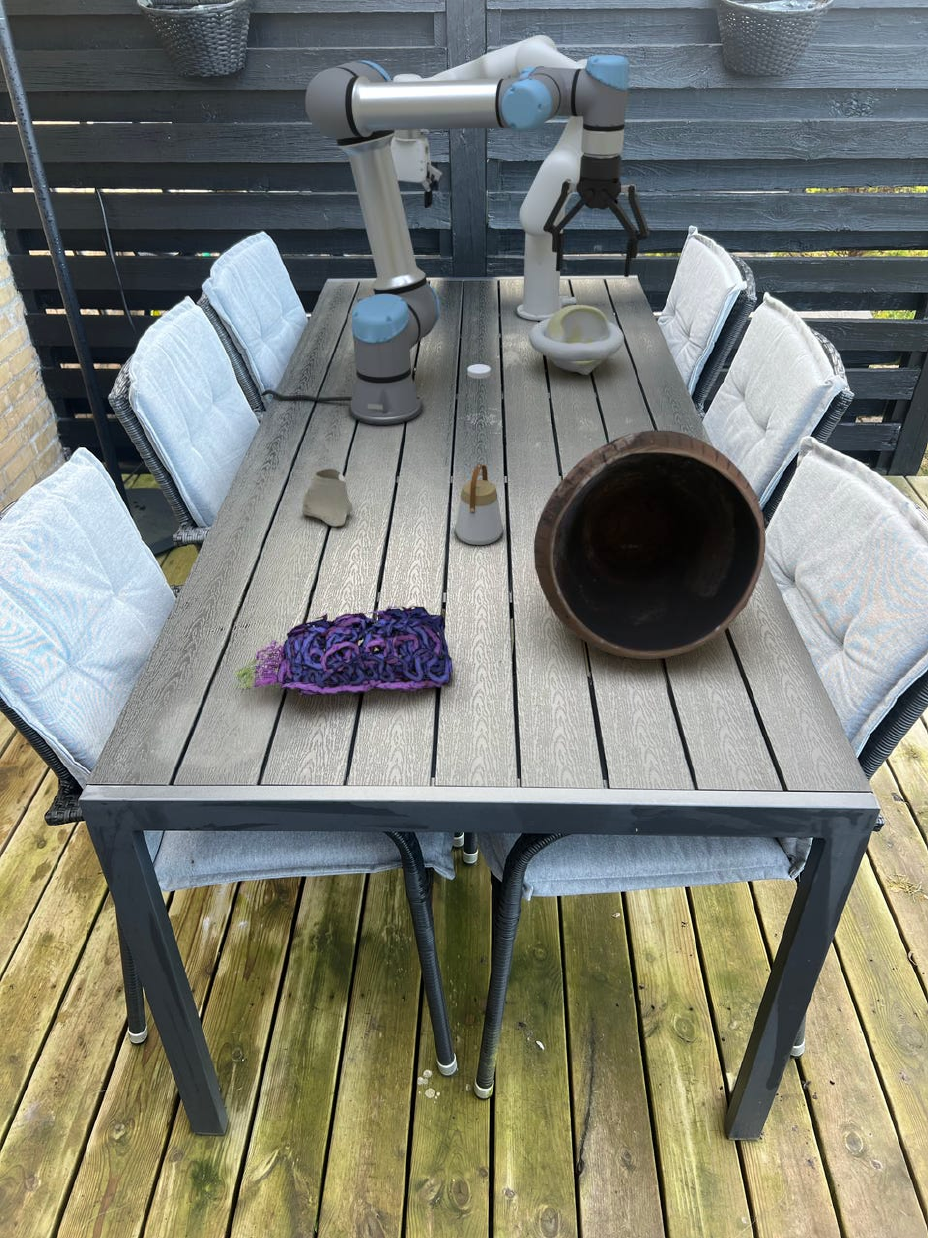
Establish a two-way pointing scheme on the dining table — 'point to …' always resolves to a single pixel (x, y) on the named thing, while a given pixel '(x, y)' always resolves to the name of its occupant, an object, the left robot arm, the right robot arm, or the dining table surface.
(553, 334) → the hat
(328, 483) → the grey irregular lump
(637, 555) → the pot
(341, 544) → the dining table surface
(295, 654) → the decorative ornament
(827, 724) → the dining table surface
